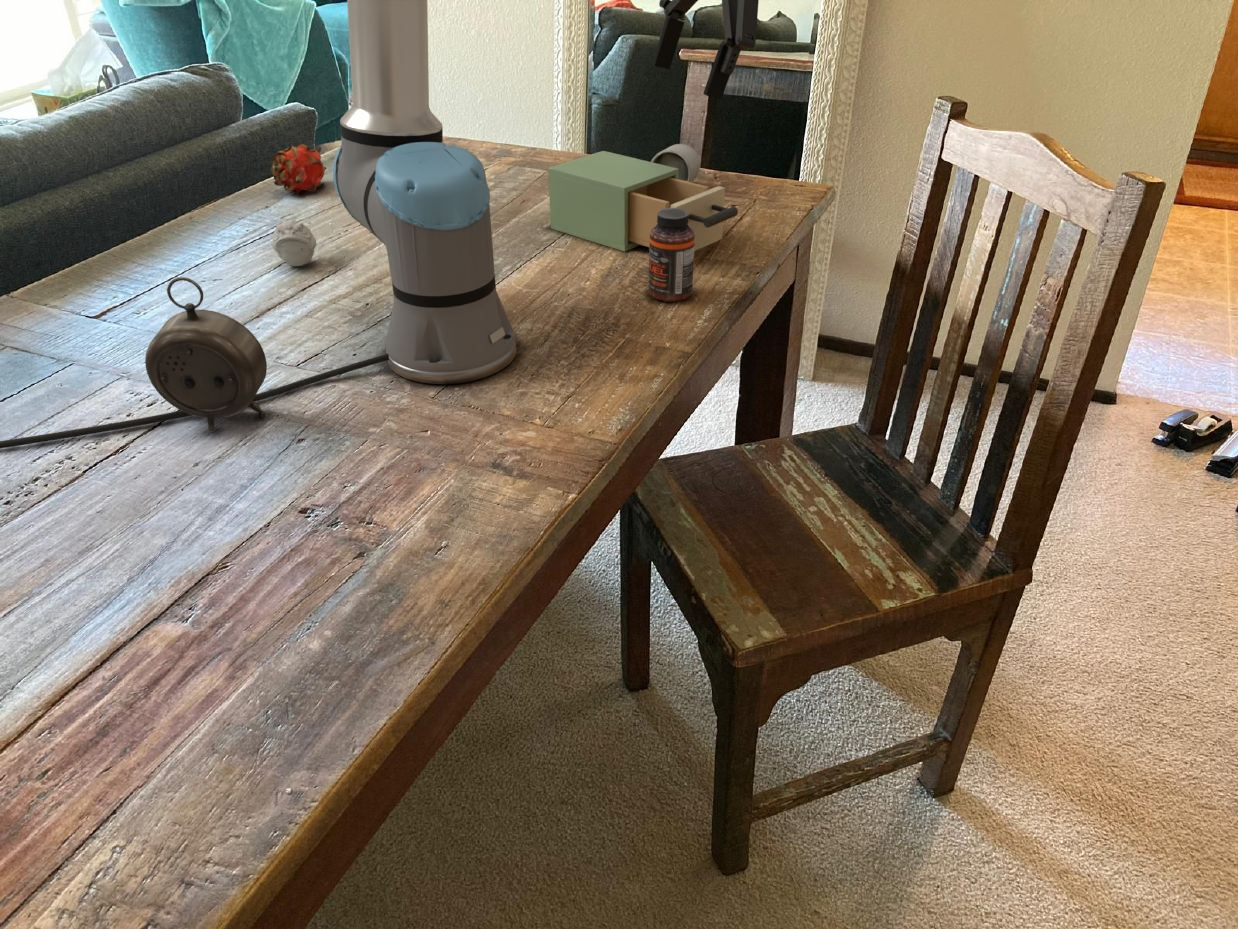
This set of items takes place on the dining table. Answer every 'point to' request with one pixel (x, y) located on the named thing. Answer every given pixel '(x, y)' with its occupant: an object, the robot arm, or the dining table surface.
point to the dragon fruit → (297, 168)
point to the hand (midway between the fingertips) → (685, 81)
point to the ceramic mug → (680, 161)
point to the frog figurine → (293, 242)
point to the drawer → (679, 194)
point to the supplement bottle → (671, 256)
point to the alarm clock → (206, 363)
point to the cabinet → (599, 195)
